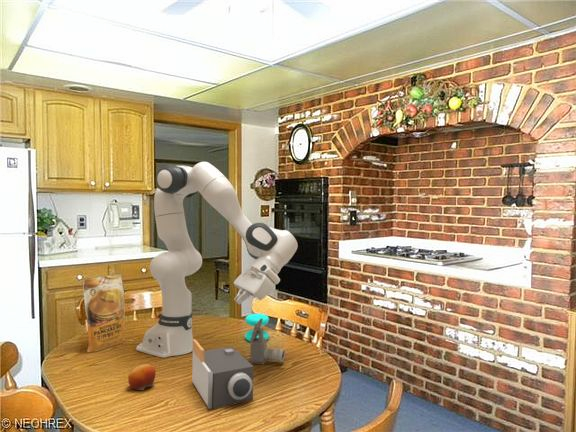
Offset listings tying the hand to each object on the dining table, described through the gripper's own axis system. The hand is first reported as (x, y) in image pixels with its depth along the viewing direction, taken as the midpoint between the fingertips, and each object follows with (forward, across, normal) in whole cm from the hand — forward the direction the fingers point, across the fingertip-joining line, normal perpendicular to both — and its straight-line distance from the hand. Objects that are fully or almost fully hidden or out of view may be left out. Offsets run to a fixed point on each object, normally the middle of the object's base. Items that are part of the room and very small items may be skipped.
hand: (236, 302), depth 133 cm
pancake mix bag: (+43, -48, -9) cm, 65 cm away
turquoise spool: (+3, -30, +32) cm, 44 cm away
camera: (+8, -6, +28) cm, 29 cm away
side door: (+27, +8, +7) cm, 29 cm away
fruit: (+38, -5, -3) cm, 39 cm away
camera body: (+23, +9, +12) cm, 28 cm away
